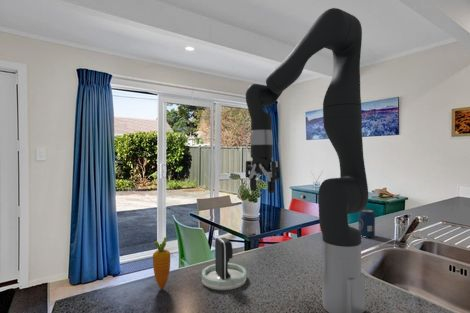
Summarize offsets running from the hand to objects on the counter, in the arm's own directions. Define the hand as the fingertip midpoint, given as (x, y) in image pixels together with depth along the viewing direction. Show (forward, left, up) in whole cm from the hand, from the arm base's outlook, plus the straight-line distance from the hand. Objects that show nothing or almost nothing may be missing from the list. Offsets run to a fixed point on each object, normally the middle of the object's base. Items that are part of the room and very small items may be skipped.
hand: (262, 191), depth 97 cm
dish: (+2, +15, -26) cm, 30 cm away
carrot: (+8, +33, -27) cm, 43 cm away
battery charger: (+2, +15, -25) cm, 29 cm away
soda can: (-3, -63, -27) cm, 68 cm away
